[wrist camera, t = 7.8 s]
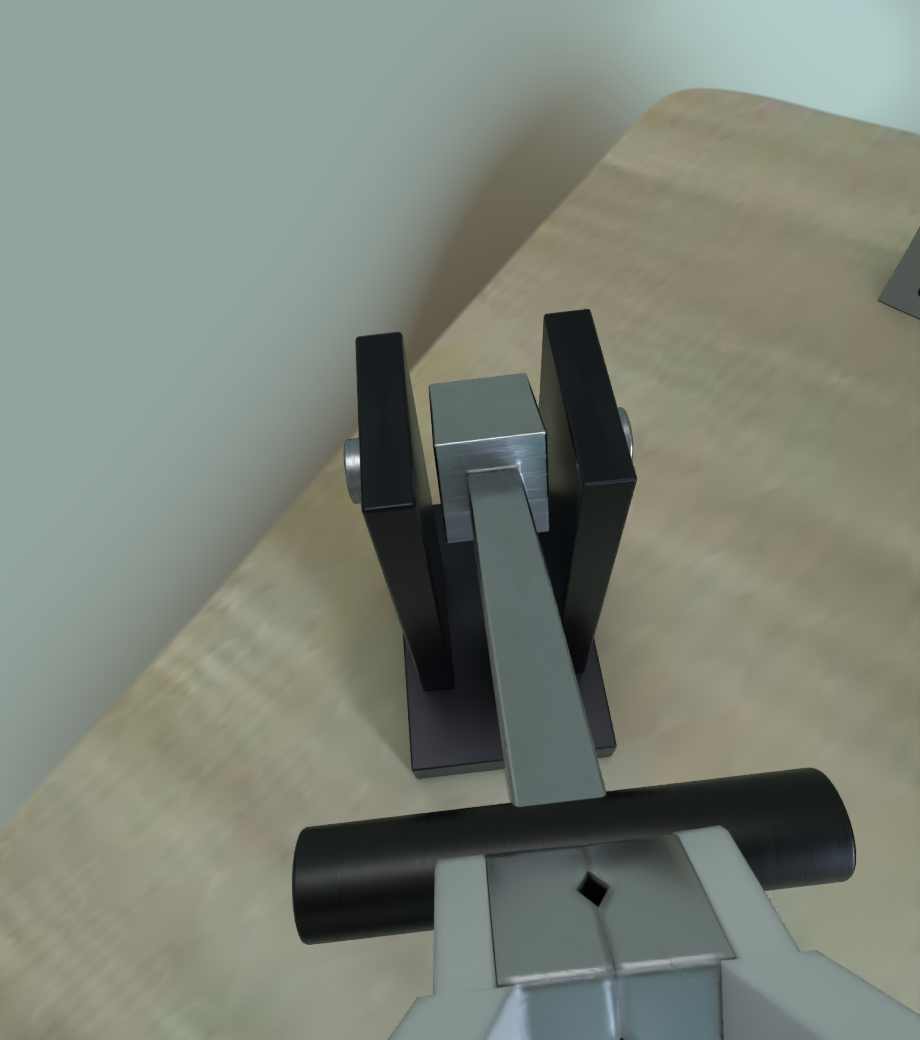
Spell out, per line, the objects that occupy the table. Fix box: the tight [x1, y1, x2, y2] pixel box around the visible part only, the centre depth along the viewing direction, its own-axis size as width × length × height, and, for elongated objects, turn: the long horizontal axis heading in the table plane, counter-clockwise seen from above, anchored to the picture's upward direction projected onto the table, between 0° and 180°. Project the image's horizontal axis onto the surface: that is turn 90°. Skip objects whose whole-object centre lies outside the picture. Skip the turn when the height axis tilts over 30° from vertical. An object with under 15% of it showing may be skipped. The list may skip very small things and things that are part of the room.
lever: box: [292, 373, 856, 945], centre depth 12 cm, size 11×6×2 cm, turn 7°
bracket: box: [344, 309, 637, 779], centre depth 19 cm, size 9×6×12 cm, turn 6°
